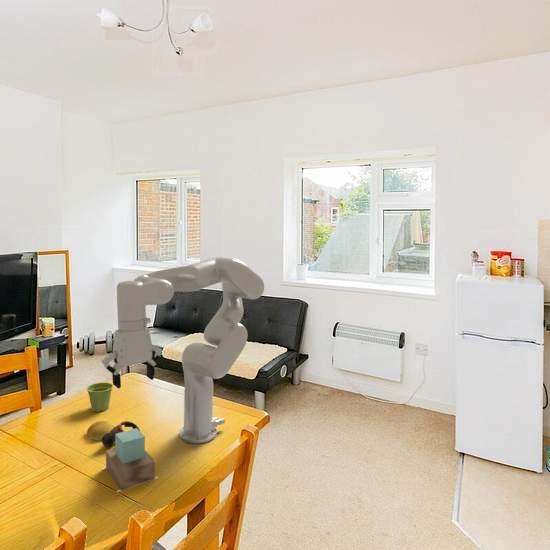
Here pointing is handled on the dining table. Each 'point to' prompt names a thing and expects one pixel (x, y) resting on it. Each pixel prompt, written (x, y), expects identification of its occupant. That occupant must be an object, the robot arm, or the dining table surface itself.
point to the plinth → (130, 470)
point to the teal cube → (129, 445)
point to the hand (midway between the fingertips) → (134, 382)
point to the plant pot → (99, 396)
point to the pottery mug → (110, 437)
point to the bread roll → (99, 430)
